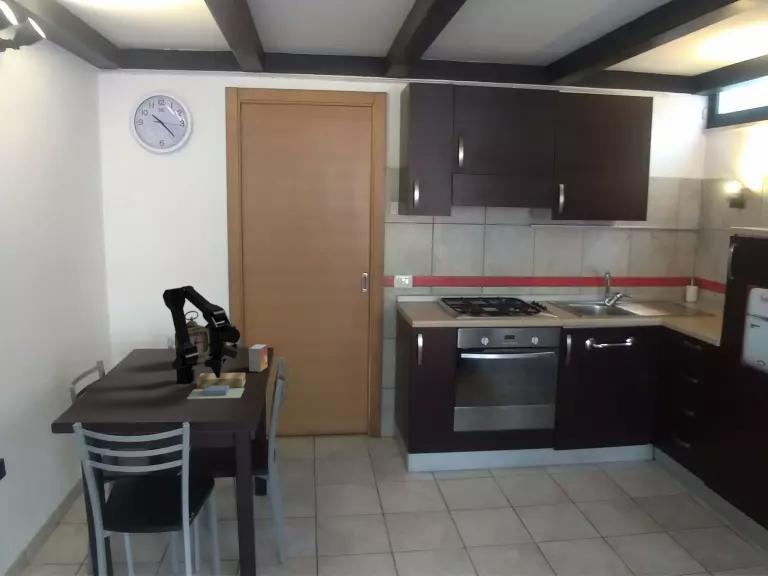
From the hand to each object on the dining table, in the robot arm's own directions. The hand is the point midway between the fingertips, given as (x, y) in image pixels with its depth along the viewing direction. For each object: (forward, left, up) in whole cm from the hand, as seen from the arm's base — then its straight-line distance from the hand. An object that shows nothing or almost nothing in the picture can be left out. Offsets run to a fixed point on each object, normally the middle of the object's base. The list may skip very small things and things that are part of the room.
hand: (218, 377), depth 234 cm
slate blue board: (0, -4, -3) cm, 5 cm away
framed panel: (0, +6, -5) cm, 8 cm away
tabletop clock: (-19, +38, -5) cm, 43 cm away
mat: (0, -4, -5) cm, 7 cm away
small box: (+12, +28, -5) cm, 31 cm away
